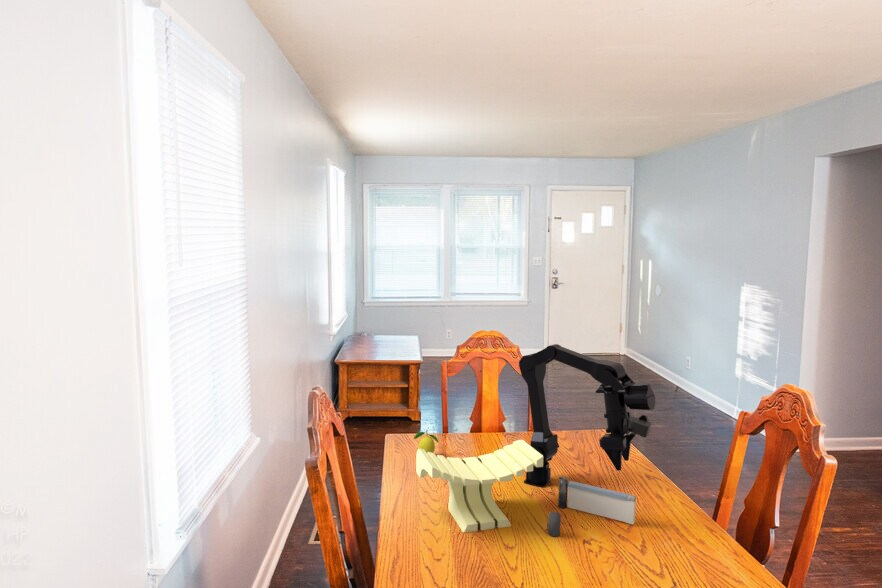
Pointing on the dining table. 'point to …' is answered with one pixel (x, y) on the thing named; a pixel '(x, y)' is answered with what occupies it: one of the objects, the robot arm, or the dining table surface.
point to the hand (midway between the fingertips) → (622, 465)
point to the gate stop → (554, 524)
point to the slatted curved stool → (478, 481)
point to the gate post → (563, 492)
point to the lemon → (426, 442)
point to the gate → (602, 502)
